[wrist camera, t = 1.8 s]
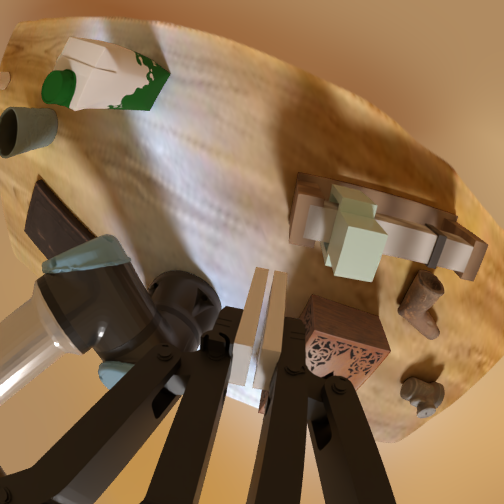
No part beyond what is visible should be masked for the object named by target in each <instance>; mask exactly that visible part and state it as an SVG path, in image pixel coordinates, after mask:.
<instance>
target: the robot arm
mask: <svg viewBox="0 0 504 504" xmlns="http://www.w3.org/2000/svg"><path fill="white" fill-rule="evenodd" d="M130 261H131V259H130V258H129V257H128V256H127V255H126V253H125V251H124V249H123V248H122V246H121V244H120V242H119V241H118V239H117V238H116V237H114V236H112V235H109V234H106V235H102V236H99V237H97V238H95V239H92V240H90V241H87V242H85V243H83V244H81V245H78V246H76V247H74V248H72V249H70V250H67V251H65V252H63V253H61V254H59V255H57V256H55V257H53V258H51V259H49V260H47V261H45V262H43V263H42V271H43V273H45V274H44V275H43V276H42V277H40V278H39V279H37V280H36V281H35V284H34V290H33V295H32V297H31V299H29V300H28V301H27V302H25V303H24V304H23V305H22V306H20V307H19V308H18V309H16V310H15V311H14V312H13V313H11V314H10V315H9V316H8V317H6V319H4V320H3V321H2V322H1V323H0V406H1V405H2V404H3V403H4V402H6V401H7V400H8V399H9V398H10V397H12V396H13V395H14V394H15V393H17V392H18V391H19V390H20V389H21V388H23V387H24V386H25V385H26V384H28V383H29V382H30V381H31V380H32V379H34V378H35V377H36V376H38V375H39V374H40V373H41V372H43V371H44V370H45V369H46V368H48V367H49V366H50V365H51V364H53V363H54V362H55V361H56V360H58V359H59V358H60V357H61V356H63V355H64V354H65V353H73V354H77V355H83V354H84V353H86V352H87V351H88V350H90V349H91V348H93V349H94V350H95V351H96V353H97V354H98V355H99V356H100V358H101V359H102V360H103V363H101V364H100V365H99V370H98V374H99V378H100V380H101V381H102V382H103V384H104V385H105V386H106V387H107V388H108V389H109V391H108V392H107V393H106V394H105V395H104V396H103V397H102V398H101V399H100V400H99V401H98V402H97V403H96V404H95V405H94V406H93V407H92V408H91V409H90V410H89V411H88V412H87V413H86V414H85V415H84V416H83V417H82V418H81V419H80V420H79V421H78V422H77V423H76V424H75V425H74V426H73V427H72V428H71V429H70V430H69V431H68V432H67V433H66V434H65V435H64V436H63V437H62V438H61V439H60V440H59V441H58V442H57V443H56V444H55V445H54V446H53V447H52V448H51V449H50V450H49V451H48V452H47V453H46V454H45V455H44V456H43V457H42V458H41V459H40V460H39V461H38V462H37V463H36V464H35V465H33V466H32V467H31V468H28V469H25V470H23V471H20V472H17V473H14V474H10V475H6V473H5V472H4V471H3V469H2V468H1V466H0V504H93V503H94V502H96V500H97V499H98V498H99V497H100V496H101V495H102V493H103V492H104V491H105V490H106V489H107V488H108V486H109V485H110V484H111V483H112V482H113V481H114V479H115V478H116V477H117V476H118V475H119V473H120V472H121V471H122V470H123V468H124V467H125V466H126V465H127V464H128V463H129V461H130V460H131V459H132V457H133V456H134V455H135V454H136V453H137V451H138V450H139V449H140V448H141V447H142V445H143V444H144V443H145V442H146V440H147V439H148V438H149V437H150V435H151V434H152V433H153V432H154V430H155V429H156V428H157V426H158V425H159V424H160V423H161V421H162V420H163V419H164V418H165V416H166V415H167V414H168V412H169V411H170V410H171V409H172V407H173V406H174V405H175V403H176V402H177V401H178V400H179V398H180V397H181V395H183V397H182V399H181V402H180V405H179V407H178V410H177V413H176V415H175V418H174V421H173V423H172V426H171V428H170V431H169V434H168V437H167V439H166V442H165V445H164V447H163V450H162V453H161V455H160V458H159V461H158V464H157V466H156V469H155V472H154V475H153V477H152V480H151V483H150V485H149V488H148V491H147V494H146V496H145V498H144V500H143V501H142V502H141V503H140V504H198V503H199V499H200V495H201V491H202V487H203V483H204V480H205V476H206V472H207V468H208V464H209V460H210V456H211V452H212V448H213V444H214V441H215V437H216V433H217V429H218V424H219V420H220V417H221V413H222V409H223V405H224V401H225V397H226V393H227V386H228V383H231V384H236V385H240V386H245V382H246V378H247V373H248V369H249V364H250V359H251V355H252V350H253V345H254V341H255V336H256V331H257V326H258V321H259V317H260V312H261V307H262V302H263V297H264V292H265V286H266V281H267V276H268V271H269V269H264V268H259V267H256V269H255V273H254V276H253V280H252V283H251V287H250V290H249V294H248V297H247V300H246V304H245V307H244V310H243V309H238V308H234V307H229V306H226V307H224V308H223V309H222V310H221V304H220V301H219V298H218V296H217V294H216V293H215V291H214V290H213V289H212V288H211V287H210V286H209V285H208V284H207V283H206V282H205V281H204V280H202V279H201V278H199V277H197V276H195V275H193V274H191V273H188V272H183V271H169V272H165V273H163V274H161V275H160V276H158V277H157V278H156V279H155V280H154V282H153V283H152V284H151V285H150V287H149V288H148V291H147V290H146V289H145V287H144V285H143V283H142V282H141V280H140V278H139V276H138V274H137V273H136V271H135V269H134V267H133V265H132V263H131V262H130ZM286 286H287V273H285V272H280V271H275V272H274V277H273V282H272V287H271V291H270V296H269V301H268V306H267V311H266V317H265V322H264V328H263V334H262V339H261V345H260V350H259V356H258V361H257V366H256V372H255V377H254V382H253V387H252V388H256V389H261V390H267V391H269V395H268V398H267V401H266V403H265V406H264V408H265V413H264V418H263V424H262V429H261V434H260V440H259V445H258V450H257V455H256V460H255V465H254V469H253V474H252V479H251V484H250V488H249V493H248V497H247V502H246V504H300V498H301V489H302V480H303V470H304V458H305V445H306V430H307V424H308V428H309V432H310V437H311V441H312V445H313V450H314V454H315V459H316V463H317V467H318V472H319V477H320V481H321V486H322V490H323V494H324V499H325V504H396V502H395V498H394V495H393V492H392V489H391V486H390V483H389V480H388V477H387V474H386V471H385V468H384V465H383V462H382V460H381V457H380V454H379V451H378V448H377V445H376V443H375V440H374V437H373V435H372V432H371V429H370V426H369V424H368V421H367V419H366V416H365V413H364V411H363V408H362V406H361V403H360V401H359V398H358V395H357V393H356V390H355V388H354V386H353V384H352V382H351V381H350V380H348V379H347V378H345V377H343V376H336V375H335V376H331V377H329V378H328V379H327V380H326V379H324V378H321V377H319V376H317V375H315V374H313V373H312V372H311V371H310V370H309V369H308V367H307V365H306V341H305V325H304V324H303V322H302V320H300V319H294V318H289V317H284V313H285V300H286ZM199 345H200V350H198V351H197V348H198V346H199ZM269 388H270V389H269Z"/></svg>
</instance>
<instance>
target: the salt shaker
mask: <svg viewBox="0 0 504 504" xmlns="http://www.w3.org/2000/svg"><path fill="white" fill-rule="evenodd" d="M9 82H10V74H9V72H0V90H4V89H5V88H6V87H7V85H8V83H9Z"/></svg>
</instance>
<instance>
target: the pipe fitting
mask: <svg viewBox="0 0 504 504" xmlns="http://www.w3.org/2000/svg"><path fill="white" fill-rule="evenodd" d="M444 393H445V392H444V387H443V385H442V384H440V383H437V382H432V383H426V382H424V381H422V380H419V379H417V378H414V377H411V378H408V379H407V380H406V381H405V382H404V383H403V385H402V387H401V391H400V395H401V397H402V398H403V399H405V400H407V401H410V404H411V405H412V406H415V407H417V417H418V418H426V417H429V416H431V415H433V414H434V413H435V411H436V408H437V407H438V406H439V405H440V404H441V403H442V401H443V398H444Z"/></svg>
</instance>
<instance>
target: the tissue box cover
mask: <svg viewBox="0 0 504 504" xmlns="http://www.w3.org/2000/svg"><path fill="white" fill-rule="evenodd" d="M299 319H300V320H302V322H303V324H304V325H305V341H306V365H307V367H308V369H309V370H310V371H311V372H312V373H313V374H315V375H317V376H319V377H321V378H324V379H326V380H327V379H328V378H329V377H331V376H335V375H336V376H343V377H345V378H347V379H348V380H350V381H351V382H352V384H353V386H354V388H355V390H357V389H358V388H359V387H360V386H361V385H362V384H363V383H364V382H365V381H366V380H367V379H368V378H369V377H370V375H371V374H372V373H373V372H374V371H375V370H376V369H377V367H378V366H379V365H380V364H381V363H382V362H383V360H384V359H385V358H386V357H387V356H388V354H389V353H390V352H391V350H390V347H389V344H388V341H387V338H386V335H385V332H384V330H383V327H382V324H381V321H380V319H379V316H376V315H373V314H369V313H366V312H363V311H360V310H357V309H354V308H351V307H348V306H345V305H342V304H339V303H336V302H333V301H330V300H327V299H324V298H322V297H319V296H316V295H313V294H312V296H311V298H310V299H309V301H308V303H307V305H306V307H305V309H304V311H303V312H302V314H301V316H300V318H299ZM269 389H270V388H269ZM268 395H269V391H267V390H262V393H261V399H260V405H259V411H258V413H262V414H264V413H265V408H264V406H265V403H266V401H267V398H268Z"/></svg>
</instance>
